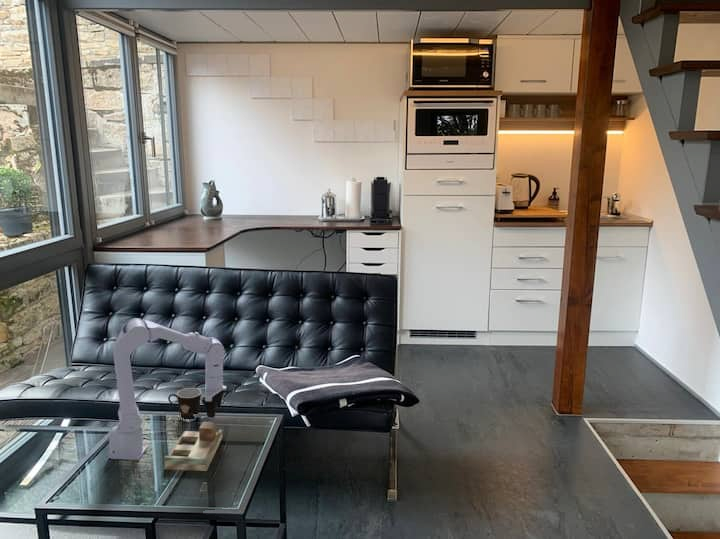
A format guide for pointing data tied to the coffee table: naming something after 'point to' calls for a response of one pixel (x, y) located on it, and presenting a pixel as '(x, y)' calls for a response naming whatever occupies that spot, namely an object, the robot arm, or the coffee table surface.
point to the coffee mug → (188, 402)
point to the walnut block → (207, 431)
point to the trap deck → (192, 452)
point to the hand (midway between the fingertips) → (214, 411)
